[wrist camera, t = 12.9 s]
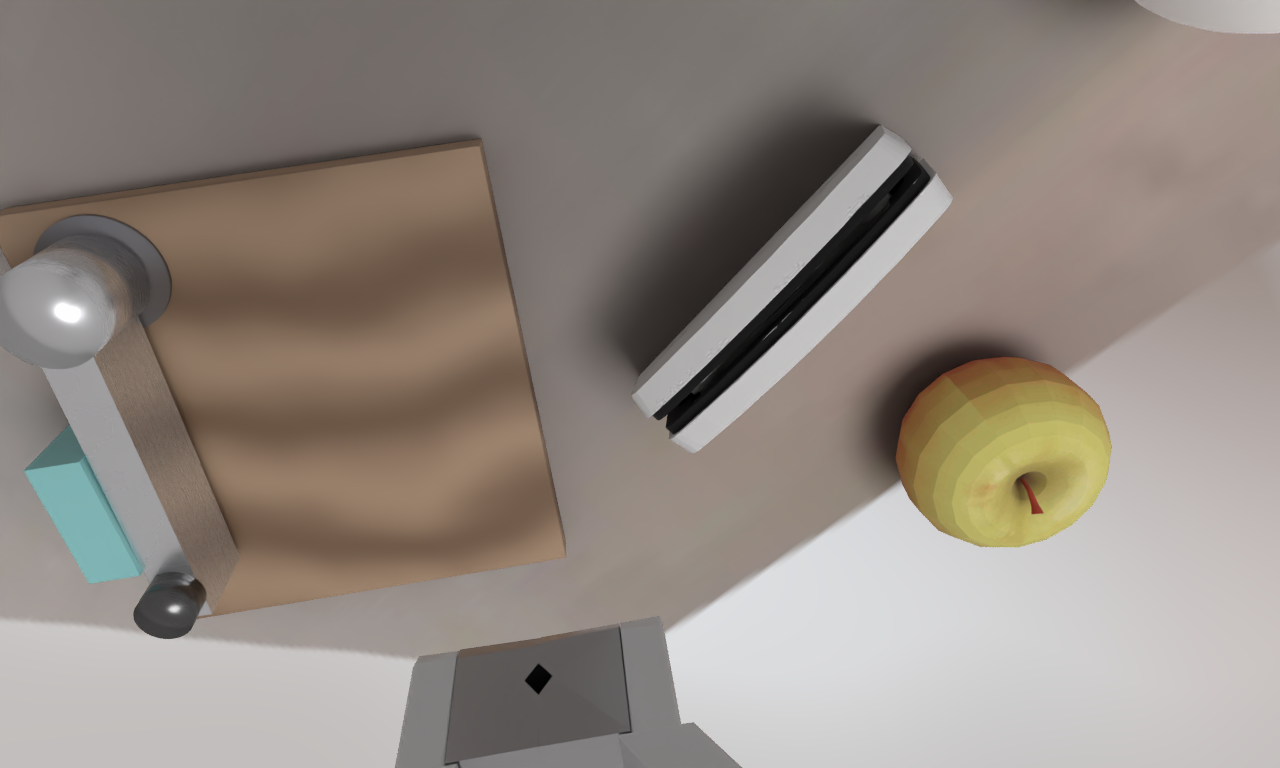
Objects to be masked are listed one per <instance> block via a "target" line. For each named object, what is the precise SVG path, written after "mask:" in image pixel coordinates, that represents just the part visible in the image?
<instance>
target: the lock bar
mask: <svg viewBox="0 0 1280 768" xmlns="http://www.w3.org/2000/svg"><path fill="white" fill-rule="evenodd" d="M149 296H150V284H149V280H148V277H147V274H146V272H145V270H144V268H143V266H142V265H141V263H140V262H139V261H138V259H137V258H136V257H135V256H134V255H133V254H132V253H131V252H130V251H129V250H127V249H126V248H125V247H123V246H122V245H120V244H119V243H117V242H115V241H113V240H111V239H108V238H106V237H102V236H99V235H93V234H76V235H71V236H68V237H65V238H63V239H61V240H59V241H57V242H56V243H54V244H52V245H51V246H49V247H47V248H46V249H44V250H42V251H41V252H39V253H37V254H36V255H34V256H33V257H31V258H29V259H28V260H26V261H24V262H23V263H21V264H19V265H18V266H16V267H14V268H13V269H11V270H9V271H8V272H6V273H4V274H3V275H1V276H0V345H1V346H2V347H4V348H5V349H6V350H7V351H8V352H10V353H11V354H13V355H14V356H16V357H17V358H19V359H21V360H23V361H25V362H27V363H30V364H32V365H35V366H39V367H42V369H43V371H44V373H45V375H46V377H47V379H48V381H49V383H50V385H51V387H52V389H53V391H54V394H55V396H56V398H57V400H58V402H59V404H60V406H61V408H62V410H63V412H64V414H65V416H66V418H67V420H68V422H69V424H70V426H71V428H72V430H73V432H74V434H75V436H76V438H77V440H78V442H79V444H80V446H81V448H82V450H83V452H84V454H85V456H86V458H87V460H88V462H89V464H90V466H91V468H92V470H93V472H94V474H95V476H96V478H97V480H98V482H99V484H100V486H101V488H102V490H103V492H104V494H105V496H106V498H107V500H108V502H109V504H110V506H111V508H112V510H113V512H114V514H115V516H116V518H117V520H118V522H119V524H120V526H121V528H122V530H123V532H124V534H125V536H126V538H127V540H128V542H129V544H130V546H131V548H132V550H133V552H134V554H135V556H136V558H137V560H138V562H139V564H140V566H141V568H142V570H143V572H144V574H145V576H146V578H147V580H148V582H149V584H150V585H149V586H148V588H147V590H146V591H145V593H144V595H143V596H142V598H141V599H140V601H139V603H138V604H137V606H136V608H135V610H134V620H135V622H136V624H137V625H138V627H139V628H140V629H141V630H143V631H144V632H145V633H147V634H149V635H151V636H154V637H157V638H163V639H173V638H178V637H181V636H183V635H185V634H187V633H188V632H189V631H190V630H191V628H192V627H193V625H194V623H195V621H196V619H197V617H198V616H203V615H210V614H212V613H213V611H214V609H215V607H216V605H217V603H218V601H219V599H220V597H221V595H222V593H223V591H224V589H225V587H226V585H227V583H228V581H229V579H230V577H231V575H232V573H233V571H234V569H235V567H236V565H237V563H238V561H239V559H240V556H239V554H238V551H237V549H236V547H235V544H234V542H233V539H232V537H231V535H230V532H229V530H228V528H227V525H226V523H225V520H224V518H223V516H222V513H221V511H220V509H219V506H218V504H217V501H216V499H215V497H214V494H213V492H212V490H211V487H210V485H209V482H208V480H207V478H206V475H205V473H204V471H203V468H202V466H201V463H200V461H199V459H198V456H197V454H196V452H195V449H194V447H193V444H192V442H191V440H190V437H189V435H188V433H187V430H186V428H185V425H184V423H183V421H182V418H181V416H180V414H179V411H178V409H177V406H176V404H175V402H174V399H173V397H172V395H171V392H170V390H169V387H168V385H167V383H166V380H165V378H164V376H163V373H162V371H161V368H160V366H159V364H158V361H157V359H156V357H155V354H154V352H153V349H152V347H151V345H150V342H149V340H148V338H147V335H146V333H145V330H144V328H143V326H142V323H141V321H140V319H139V316H138V315H139V314H141V313H142V311H143V310H144V309H145V307H146V305H147V303H148V300H149Z"/></svg>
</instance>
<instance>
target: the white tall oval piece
mask: <svg viewBox="0 0 1280 768" xmlns="http://www.w3.org/2000/svg"><path fill="white" fill-rule="evenodd" d="M1135 1H1136V2H1137V3H1138V4H1139V5H1141V6H1142V7H1144V8H1145V9H1147V10H1149V11H1151V12H1153V13H1155V14H1157V15H1159V16H1161V17H1163V18H1165V19H1167V20H1170V21H1172V22H1175V23H1179V24H1183V25H1187V26H1191V27H1195V28H1199V29H1203V30H1208V31H1214V32H1223V33H1250V34H1267V33H1280V0H1135Z"/></svg>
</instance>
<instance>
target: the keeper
mask: <svg viewBox="0 0 1280 768" xmlns="http://www.w3.org/2000/svg"><path fill="white" fill-rule="evenodd" d="M24 472H25V474H26V476H27V478H28V479H29V481H30V483H31V484H32V486H33V488H34V490H35V491H36V493H37V495H38V496H39V498H40V500H41V502H42V503H43V505H44V507H45V509H46V510H47V512H48V514H49V515H50V517H51V519H52V521H53V522H54V524H55V526H56V527H57V529H58V531H59V533H60V534H61V536H62V538H63V539H64V541H65V543H66V545H67V546H68V548H69V550H70V552H71V553H72V555H73V557H74V558H75V560H76V562H77V564H78V565H79V567H80V569H81V570H82V572H83V574H84V576H85V577H86V579H87V581H88V582H89V584H91V583H97V582H103V581H109V580H115V579H121V578H128V577H134V576H140V575H141V573H142V572H143V570H142V568H141V566H140V564H139V562H138V560H137V558H136V556H135V554H134V552H133V550H132V548H131V546H130V544H129V542H128V540H127V538H126V536H125V534H124V532H123V530H122V528H121V526H120V524H119V522H118V520H117V518H116V516H115V514H114V512H113V510H112V508H111V506H110V504H109V502H108V500H107V498H106V496H105V494H104V492H103V490H102V488H101V486H100V484H99V482H98V480H97V478H96V476H95V474H94V472H93V470H92V468H91V466H90V464H89V462H88V460H87V458H86V456H85V454H84V452H83V450H82V448H81V446H80V444H79V442H78V440H77V438H76V436H75V434H74V432H73V430H72V428H71V426H70V425H69V426H68V427H67V428H66V429H65V430H64V431H63V432H62V433H61V434H60V435H59V436H58V437H57V438H56V439H55V440H54V441H53V442H52V443H51V444H50V445H49V446H48V447H47V448H46V449H45V450H44V451H43V452H42V453H41V454H40V455H39V456H38V457H37V458H36V459H35V460H34V461H33V462H32V463H31V464H30V465H29V466H28V467H27V468H26V469H25V470H24Z"/></svg>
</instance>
